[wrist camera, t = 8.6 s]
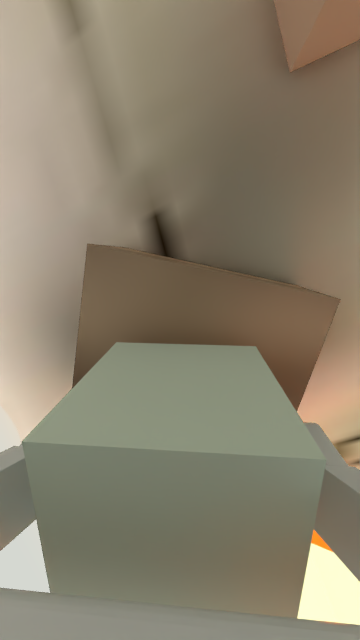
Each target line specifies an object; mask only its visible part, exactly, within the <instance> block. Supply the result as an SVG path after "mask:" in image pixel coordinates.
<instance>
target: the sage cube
mask: <svg viewBox="0 0 360 640" xmlns="http://www.w3.org/2000/svg"><path fill="white" fill-rule="evenodd" d="M22 446H23V451H24V456H25V461H26V467H27V472H28V477H29V483H30V488H31V493H32V498H33V504H34V509H35V514H36V520H37V525H38V530H39V535H40V540H41V545H42V551H43V557H44V561H45V567H46V572H47V577H48V583H49V588H50V593H55V594H65V595H75V596H84V597H94V598H104V599H113V600H123V601H133V602H142V603H152V604H162V605H172V606H181V607H191V608H201V609H211V610H220V611H230V612H240V613H250V614H259V615H269V616H279V617H289V618H297V617H298V611H299V606H300V601H301V595H302V590H303V584H304V579H305V574H306V568H307V563H308V557H309V552H310V546H311V541H312V536H313V530H314V525H315V519H316V514H317V509H318V503H319V498H320V492H321V487H322V481H323V476H324V471H325V465H326V458H325V456H324V455H323V453H322V452H321V450H320V448H319V447H318V445H317V444H316V442H315V440H314V439H313V437H312V436H311V434H310V432H309V431H308V429H307V428H306V426H305V424H304V423H303V421H302V420H301V418H300V416H299V415H298V413H297V412H296V410H295V408H294V407H293V405H292V404H291V402H290V400H289V399H288V397H287V396H286V394H285V392H284V391H283V389H282V388H281V386H280V384H279V383H278V381H277V380H276V378H275V376H274V375H273V373H272V372H271V370H270V368H269V367H268V365H267V364H266V362H265V360H264V359H263V357H262V355H261V354H260V352H259V351H258V349H257V347H256V346H230V345H195V344H159V343H124V342H116V343H115V344H114V345H113V346H112V347H111V348H110V350H109V351H108V352H107V353H106V354H105V355H104V356H103V357H102V358H101V359H100V360H99V361H98V362H97V363H96V364H95V365H94V366H93V367H92V368H91V369H90V371H89V372H88V373H87V374H86V375H85V376H84V377H83V378H82V379H81V380H80V381H79V382H78V383H77V384H76V385H75V386H74V387H73V388H72V389H71V390H70V392H69V393H68V394H67V395H66V396H65V397H64V398H63V399H62V400H61V401H60V402H59V403H58V404H57V405H56V406H55V407H54V408H53V409H52V410H51V411H50V413H49V414H48V415H47V416H46V417H45V418H44V419H43V420H42V421H41V422H40V423H39V424H38V425H37V426H36V427H35V428H34V429H33V430H32V431H31V432H30V434H29V435H28V436H27V437H26V438H25V439H24V440H23V441H22Z"/></svg>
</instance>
